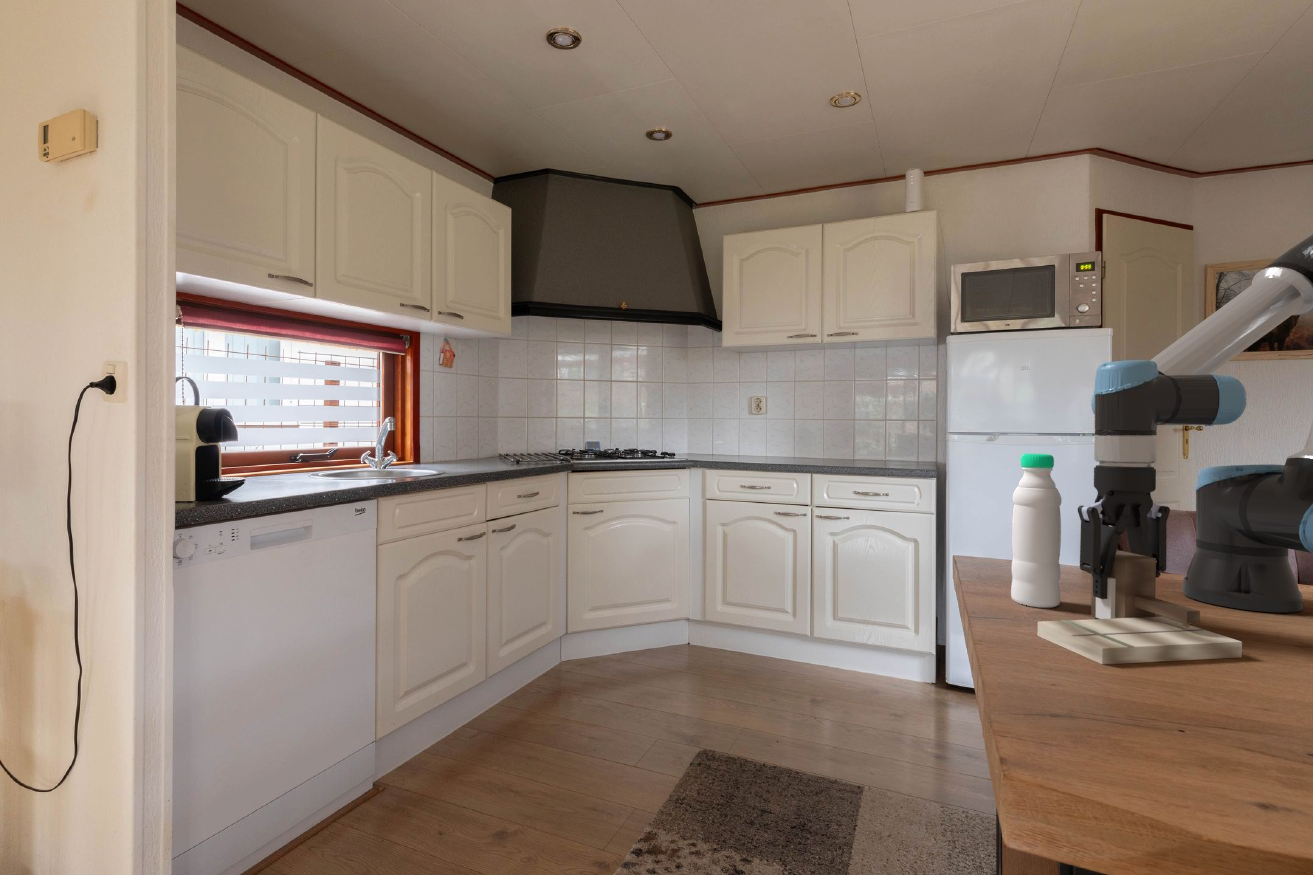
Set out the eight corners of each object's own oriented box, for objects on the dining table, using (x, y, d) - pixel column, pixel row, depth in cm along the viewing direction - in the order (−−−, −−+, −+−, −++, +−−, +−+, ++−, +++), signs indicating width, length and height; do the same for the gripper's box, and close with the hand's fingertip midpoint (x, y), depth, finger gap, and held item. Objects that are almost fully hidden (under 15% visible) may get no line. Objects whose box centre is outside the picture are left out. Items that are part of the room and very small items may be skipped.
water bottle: (1056, 600, 109) (1058, 453, 108) (1063, 611, 102) (1065, 455, 102) (1009, 595, 112) (1011, 452, 111) (1012, 605, 105) (1014, 454, 105)
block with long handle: (1119, 614, 99) (1120, 550, 99) (1209, 644, 86) (1210, 570, 85) (1091, 615, 99) (1091, 551, 99) (1176, 646, 85) (1177, 571, 85)
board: (1162, 630, 93) (1162, 615, 93) (1241, 657, 82) (1242, 641, 82) (1037, 635, 90) (1037, 620, 90) (1102, 664, 79) (1102, 647, 79)
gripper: (1154, 462, 101) (1152, 609, 101) (1051, 463, 98) (1049, 614, 99) (1201, 465, 93) (1199, 624, 94) (1090, 466, 91) (1088, 629, 91)
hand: (1122, 618), depth 96 cm, fingers closed on block with long handle, 5 cm apart
